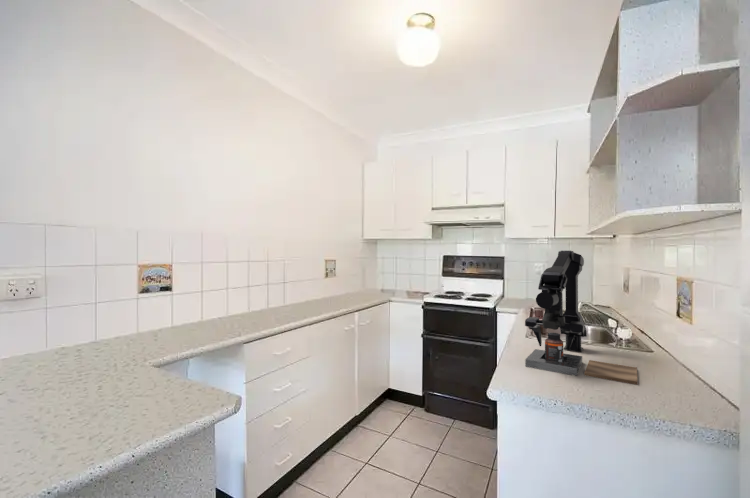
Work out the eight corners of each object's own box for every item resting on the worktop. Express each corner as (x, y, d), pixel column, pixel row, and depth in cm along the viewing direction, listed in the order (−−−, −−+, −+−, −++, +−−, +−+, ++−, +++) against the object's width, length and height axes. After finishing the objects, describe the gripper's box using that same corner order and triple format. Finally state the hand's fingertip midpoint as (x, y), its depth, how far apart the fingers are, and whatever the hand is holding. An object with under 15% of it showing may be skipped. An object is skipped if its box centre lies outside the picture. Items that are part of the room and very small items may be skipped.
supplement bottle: (566, 368, 121) (565, 336, 121) (547, 366, 122) (547, 335, 122) (560, 362, 127) (560, 332, 127) (543, 361, 128) (542, 331, 128)
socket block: (535, 355, 135) (535, 349, 136) (582, 363, 126) (582, 356, 126) (525, 366, 123) (525, 359, 123) (576, 375, 113) (576, 368, 113)
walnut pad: (589, 362, 126) (589, 359, 126) (636, 370, 118) (636, 367, 118) (584, 375, 113) (584, 372, 113) (637, 385, 105) (637, 381, 105)
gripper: (521, 305, 124) (521, 348, 124) (580, 311, 112) (581, 358, 112) (528, 302, 133) (528, 342, 132) (584, 306, 121) (585, 350, 121)
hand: (554, 348), depth 124 cm, fingers open, 9 cm apart
